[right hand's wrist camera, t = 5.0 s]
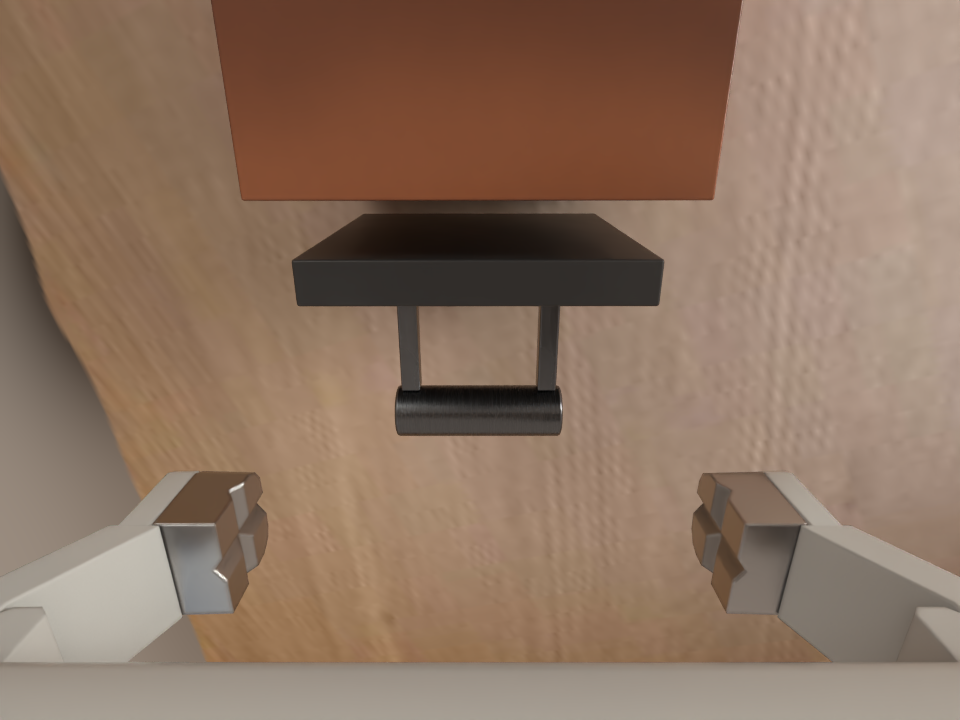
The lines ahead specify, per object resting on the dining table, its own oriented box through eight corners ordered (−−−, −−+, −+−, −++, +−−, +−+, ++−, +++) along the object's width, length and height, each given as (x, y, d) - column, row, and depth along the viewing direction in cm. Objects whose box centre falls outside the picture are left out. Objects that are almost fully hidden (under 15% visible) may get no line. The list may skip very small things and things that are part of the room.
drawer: (584, 366, 24) (638, 484, 16) (374, 366, 25) (318, 485, 16) (640, -399, 16) (819, -1001, 7) (315, -397, 16) (130, -999, 7)
